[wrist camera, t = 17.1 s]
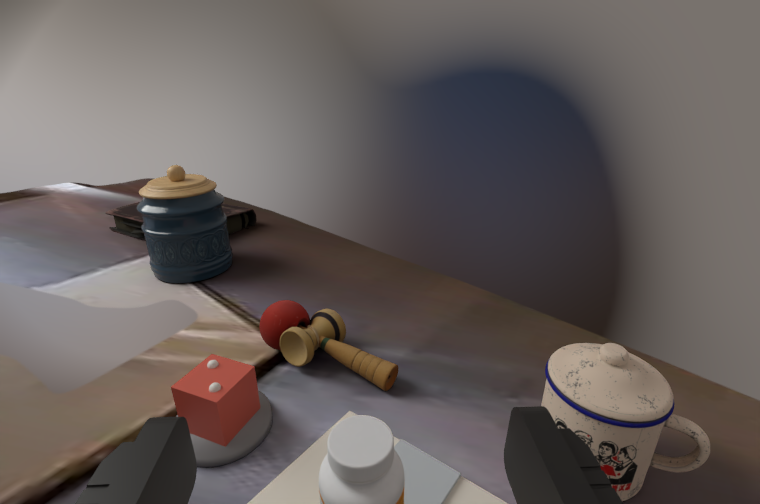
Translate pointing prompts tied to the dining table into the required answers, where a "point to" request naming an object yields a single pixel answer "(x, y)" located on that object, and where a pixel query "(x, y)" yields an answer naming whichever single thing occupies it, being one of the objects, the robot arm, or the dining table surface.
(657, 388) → the teacup with lid
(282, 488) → the game board
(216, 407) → the red die
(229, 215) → the diary
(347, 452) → the supplement bottle
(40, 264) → the dining table surface
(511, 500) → the dining table surface
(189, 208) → the canister
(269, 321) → the kendama
